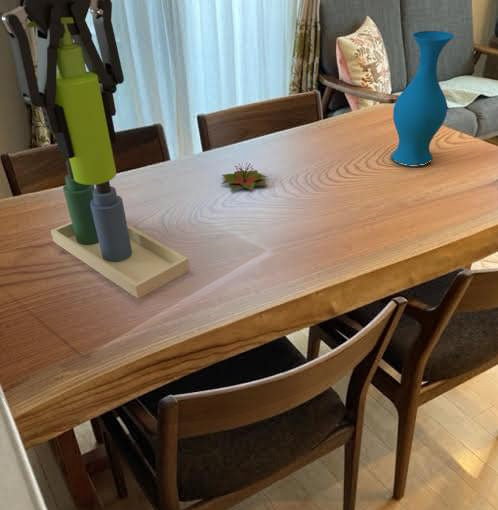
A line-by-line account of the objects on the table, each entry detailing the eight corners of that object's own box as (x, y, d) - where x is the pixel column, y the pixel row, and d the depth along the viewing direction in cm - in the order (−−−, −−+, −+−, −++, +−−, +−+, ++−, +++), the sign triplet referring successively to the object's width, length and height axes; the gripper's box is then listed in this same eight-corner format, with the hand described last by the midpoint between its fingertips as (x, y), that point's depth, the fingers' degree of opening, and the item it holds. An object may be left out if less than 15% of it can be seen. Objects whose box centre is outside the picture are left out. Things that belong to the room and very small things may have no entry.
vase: (378, 163, 133) (395, 38, 115) (397, 146, 141) (416, 27, 123) (426, 174, 128) (451, 44, 110) (443, 155, 136) (469, 32, 118)
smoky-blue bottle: (96, 254, 102) (77, 175, 92) (120, 243, 105) (105, 165, 95) (113, 265, 99) (95, 184, 89) (138, 253, 102) (123, 173, 92)
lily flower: (261, 169, 132) (261, 150, 129) (277, 189, 123) (277, 170, 120) (213, 176, 129) (212, 157, 126) (226, 197, 120) (225, 178, 118)
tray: (54, 244, 107) (50, 230, 105) (103, 222, 113) (100, 209, 111) (138, 301, 91) (135, 286, 90) (190, 272, 98) (188, 258, 96)
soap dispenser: (65, 171, 77) (25, 13, 65) (114, 164, 79) (84, 9, 66) (67, 188, 73) (24, 23, 60) (118, 181, 74) (86, 17, 62)
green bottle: (71, 238, 107) (50, 161, 97) (95, 227, 110) (77, 151, 100) (86, 248, 104) (66, 169, 94) (110, 237, 107) (94, 159, 97)
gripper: (-29, -49, 52) (38, 177, 66) (133, -65, 62) (160, 135, 77) (-59, -53, 56) (10, 161, 71) (98, -67, 66) (129, 123, 81)
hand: (88, 147), depth 74 cm, fingers closed on soap dispenser, 6 cm apart
